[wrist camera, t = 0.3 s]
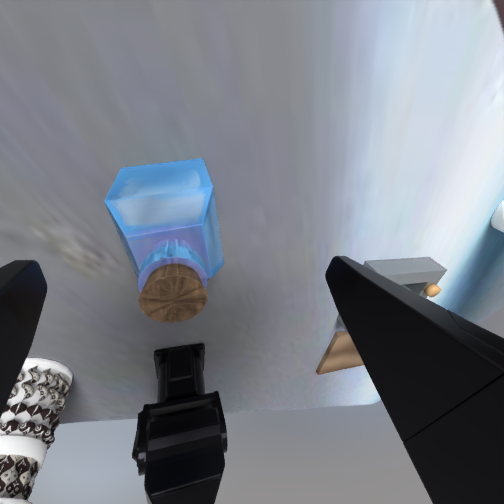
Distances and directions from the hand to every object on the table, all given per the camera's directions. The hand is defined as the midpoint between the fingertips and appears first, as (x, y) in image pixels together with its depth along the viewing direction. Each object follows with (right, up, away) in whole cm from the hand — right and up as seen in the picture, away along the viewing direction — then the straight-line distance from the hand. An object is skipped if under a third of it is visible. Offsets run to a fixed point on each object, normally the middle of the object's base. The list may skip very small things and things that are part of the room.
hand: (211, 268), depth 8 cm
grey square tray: (+21, -5, +30) cm, 37 cm away
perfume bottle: (-6, +5, +13) cm, 16 cm away
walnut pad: (+21, -18, +39) cm, 48 cm away
